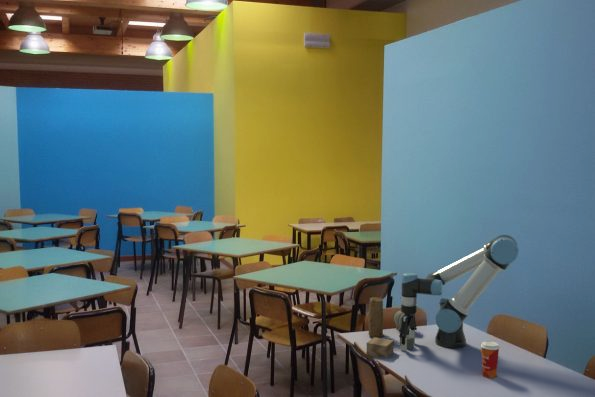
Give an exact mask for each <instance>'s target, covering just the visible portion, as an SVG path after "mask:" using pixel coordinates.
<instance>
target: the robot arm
mask: <svg viewBox="0 0 595 397" xmlns="http://www.w3.org/2000/svg"><path fill="white" fill-rule="evenodd" d="M518 256H519V246H518V243H517V241H516V239H515V238H514V237H513V236H511V235H508V234H507V235H506V234H501V235H498V236H496V237H495V238H493V239H492V240H490V241H488V242H487V243H485V244H484V245H483V247H482V248H480V249H478V250H476V251H474V252H472V253H470V254H468V255H466V256H464V257H462V258H461V259H460V258H459V260H457V261H454V262H452V263H450V264H449V265H447V266H444V267H442V268H441V269H438V270H437V271H435V272H431V273H429V274H428V275H427V276H426V278H422V277H421V278H420V277H419V276H418V274H417V273H415V272H405V273H403V274H401V275H402V277H401V296H400V299H401V301H400V302H401V305H400V306H401V308H400V311H401V312H402V313H404V314H405V315H404V317H402V324H401V329H399V330H400V331H399V335H398V338H400V337H401V346H400V351H403V352H407V350H408V349H407V338H406V336H407V335H409V336H411V337H413V338H414V344H415V343H416V340H415V339H416V331H417V330H418V328H417V321H416V313H417V311H418V310H417V309H418V308H417V307H418V306H417V303H418V294H419V295H427V296H441V295H442V294H443V288H444V286H445V285H446V284H448V283H450V282H453V281H455V280H456V279H459V278H461V277H463V276H464V275H466V274H469V273H471V272H472V274H471V275H470V276H469V278H468V279H467V280H466V281H465V283H463V285H462V286H461V288H460V289H459V290H458V292H457V293H456V294H455V295H454V296H453V297H441V298H440V299H439V303H438V304H439V308H438V311H437V313H436V314H435V324H436V326H437V328H438V330H437V333H436V335H435V339H434V342H435V344H436V345H438V346H439V347H444V348H448V349H449V348H450V349H452V348H453V349H458V348H459V349H460V348H464V347H466V346H467V339H466V335H465V333H464V332H465V331H464V321H465V320H466V318H467V317H468V316H469V315H470V313H469V309H470V308H471V307H472V306H473V304H474V303H476V301H477V300H478V298H479V297H480V295H482V294H483V292H484V291H485V290H486V289H487V287H488V286H489V285H490V283H491V282H492V281H493V280H494V279H495V277H496V276H497V275H498V274H499V272H501V271H506V269H507V268H508V267H509V266H510V264H512V263H513V262H514V261H515V260H516V259H517V257H518ZM473 271H474V272H473ZM408 327H410V329H409V330H408ZM408 332H409V333H408Z"/></svg>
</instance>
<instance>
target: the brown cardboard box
mask: <svg viewBox="0 0 595 397" xmlns="http://www.w3.org/2000/svg"><path fill="white" fill-rule="evenodd" d="M393 353H394V340H393V339H387V338H382V337H379V338H376V337H371V339H369V341H367V342H366V354H367V355H366V356H372V357H377V358H381V359H382V358H383V359H387V358H389V357H391V355H392V354H393Z"/></svg>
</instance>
